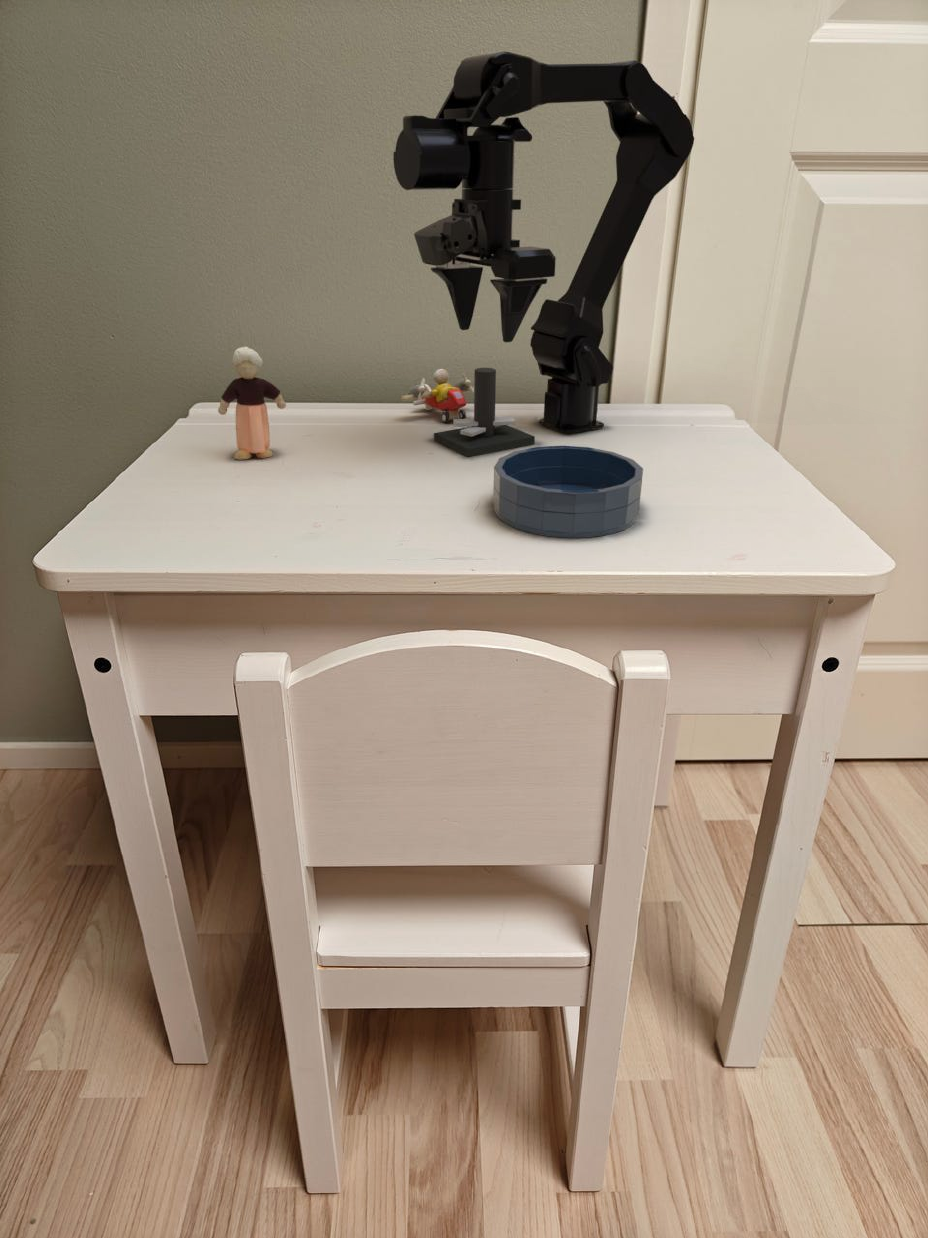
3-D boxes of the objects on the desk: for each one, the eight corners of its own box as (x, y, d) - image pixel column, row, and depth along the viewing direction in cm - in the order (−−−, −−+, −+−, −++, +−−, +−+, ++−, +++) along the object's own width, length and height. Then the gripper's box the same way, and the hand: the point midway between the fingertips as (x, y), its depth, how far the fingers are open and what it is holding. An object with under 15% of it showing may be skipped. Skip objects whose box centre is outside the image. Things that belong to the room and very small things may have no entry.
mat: (498, 428, 114) (498, 421, 113) (534, 443, 108) (535, 436, 107) (433, 440, 109) (433, 432, 109) (467, 457, 103) (467, 448, 103)
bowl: (576, 477, 97) (578, 438, 95) (669, 518, 86) (674, 475, 84) (467, 501, 90) (467, 460, 88) (553, 549, 79) (555, 503, 77)
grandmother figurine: (230, 464, 100) (216, 352, 94) (222, 455, 103) (208, 346, 97) (294, 455, 104) (284, 346, 98) (284, 446, 107) (274, 340, 101)
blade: (498, 425, 112) (500, 362, 108) (520, 434, 108) (522, 369, 104) (448, 434, 108) (447, 369, 104) (468, 444, 104) (469, 377, 101)
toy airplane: (464, 425, 115) (464, 377, 112) (399, 421, 117) (397, 373, 114) (478, 408, 123) (479, 362, 120) (417, 404, 125) (416, 359, 122)
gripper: (383, 187, 98) (388, 329, 105) (472, 193, 84) (471, 356, 92) (465, 186, 103) (464, 321, 111) (562, 191, 89) (554, 345, 97)
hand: (485, 335), depth 102 cm, fingers open, 9 cm apart
